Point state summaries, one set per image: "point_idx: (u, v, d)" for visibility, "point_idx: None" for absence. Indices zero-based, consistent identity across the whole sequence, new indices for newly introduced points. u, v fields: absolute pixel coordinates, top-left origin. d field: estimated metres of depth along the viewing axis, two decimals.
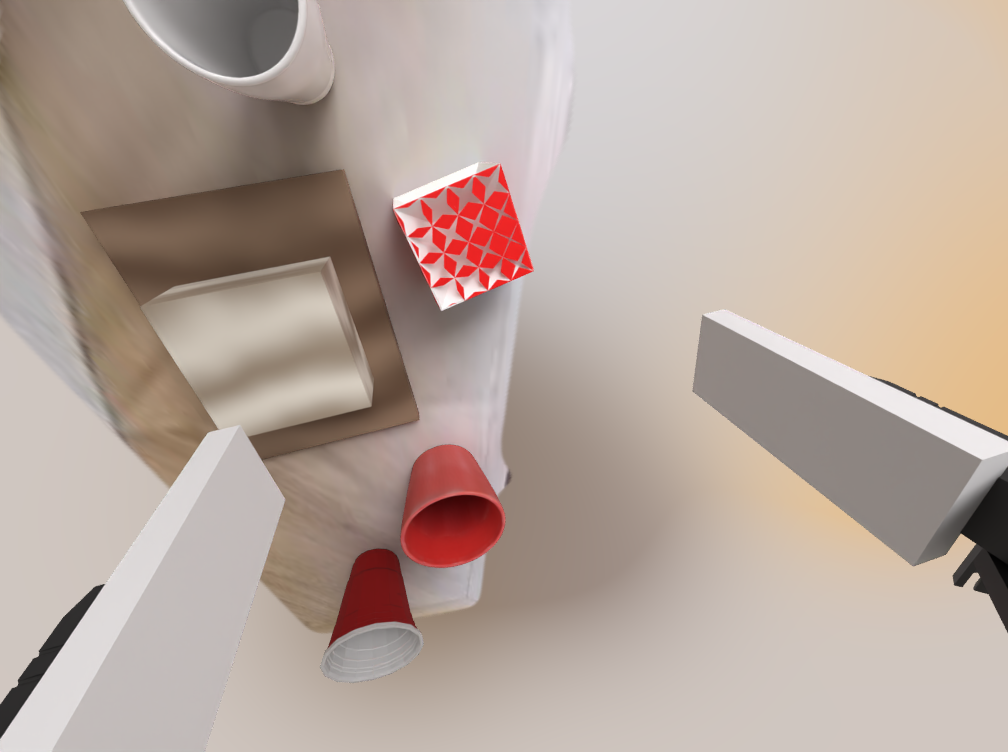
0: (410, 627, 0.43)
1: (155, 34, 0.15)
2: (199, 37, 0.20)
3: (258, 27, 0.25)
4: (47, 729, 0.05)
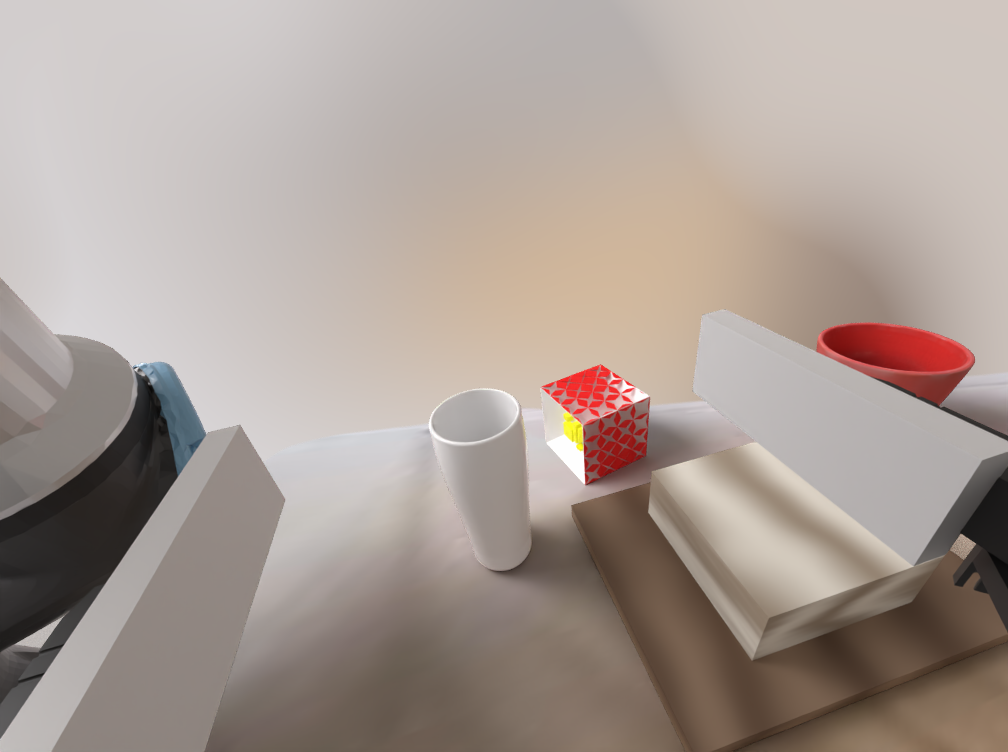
0: None
1: (502, 432, 0.26)
2: None
3: None
4: (47, 729, 0.05)
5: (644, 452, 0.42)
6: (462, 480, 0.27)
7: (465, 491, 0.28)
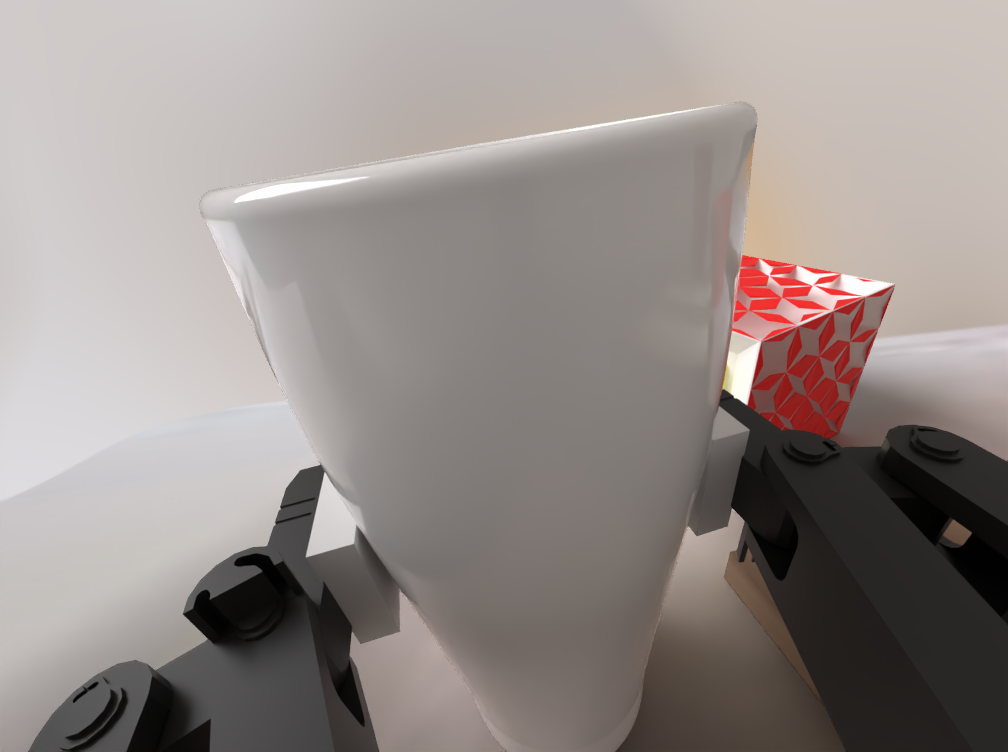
0: None
1: None
2: None
3: None
4: (343, 527, 0.07)
5: (840, 424, 0.20)
6: (401, 498, 0.04)
7: (426, 560, 0.05)
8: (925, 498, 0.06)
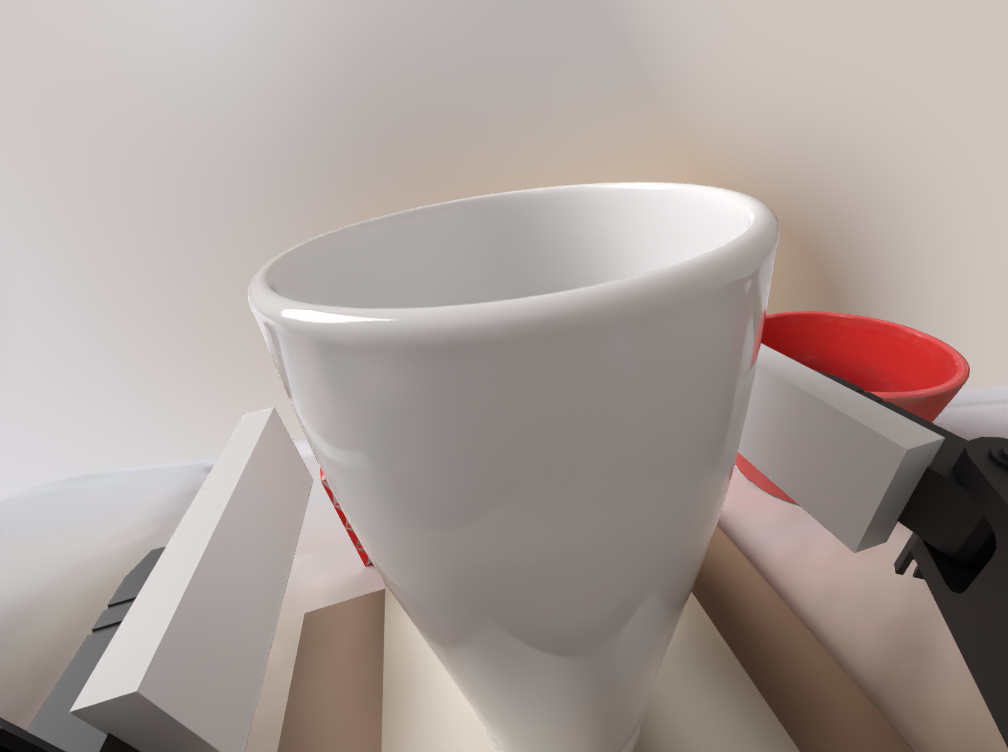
0: None
1: None
2: None
3: None
4: (135, 661, 0.05)
5: None
6: (437, 575, 0.05)
7: (454, 623, 0.05)
8: None
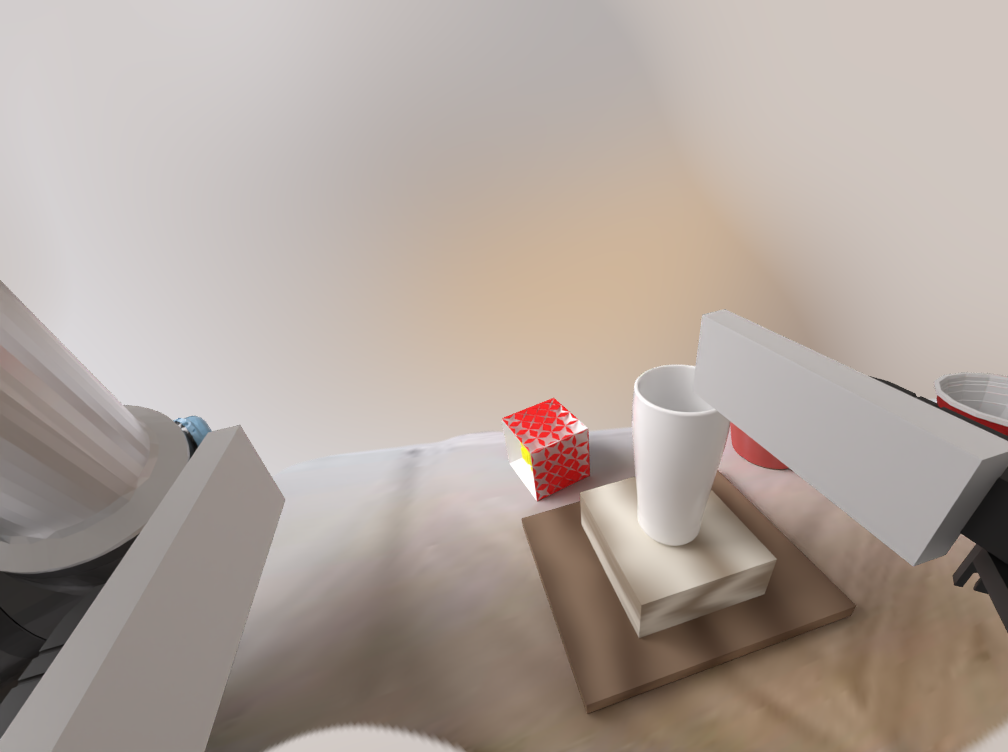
0: (935, 382, 0.40)
1: None
2: None
3: None
4: (47, 729, 0.05)
5: (588, 472, 0.51)
6: (679, 450, 0.28)
7: (676, 462, 0.28)
8: None
